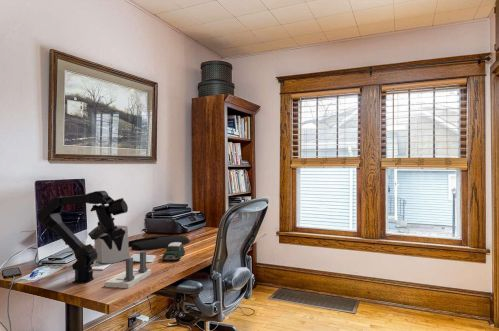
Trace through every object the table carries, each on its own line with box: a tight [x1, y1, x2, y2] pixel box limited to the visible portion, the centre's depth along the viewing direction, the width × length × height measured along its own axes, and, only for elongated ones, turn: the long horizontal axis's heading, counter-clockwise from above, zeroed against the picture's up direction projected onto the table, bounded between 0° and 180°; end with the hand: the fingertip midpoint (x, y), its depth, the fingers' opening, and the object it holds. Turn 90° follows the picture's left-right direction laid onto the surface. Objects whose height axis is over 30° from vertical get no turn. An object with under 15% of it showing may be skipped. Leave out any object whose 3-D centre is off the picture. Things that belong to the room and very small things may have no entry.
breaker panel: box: [104, 267, 152, 289], centre depth 149 cm, size 11×20×2 cm, turn 170°
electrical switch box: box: [93, 224, 130, 264], centre depth 184 cm, size 15×15×20 cm
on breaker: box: [138, 250, 149, 272], centre depth 155 cm, size 3×4×9 cm
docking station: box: [128, 234, 191, 252], centre depth 222 cm, size 25×40×5 cm, turn 124°
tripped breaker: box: [124, 256, 135, 281], centre depth 143 cm, size 3×4×9 cm
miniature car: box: [162, 242, 186, 262], centre depth 187 cm, size 9×18×8 cm, turn 179°
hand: (115, 250), depth 150 cm, fingers open, 9 cm apart
